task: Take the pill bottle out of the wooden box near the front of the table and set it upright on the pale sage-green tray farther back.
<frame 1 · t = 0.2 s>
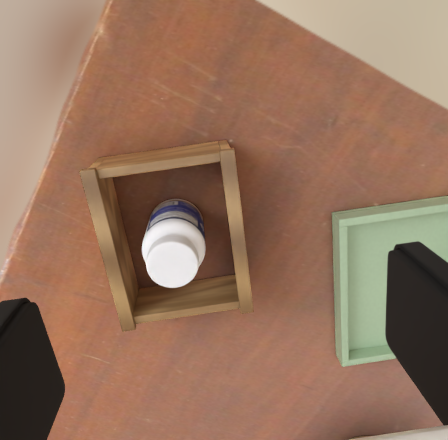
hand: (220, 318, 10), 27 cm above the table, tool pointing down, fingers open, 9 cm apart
pill bottle: (176, 222, 38), resting in wooden box
tray: (396, 279, 42), on the table
wooden box: (176, 223, 38), on the table
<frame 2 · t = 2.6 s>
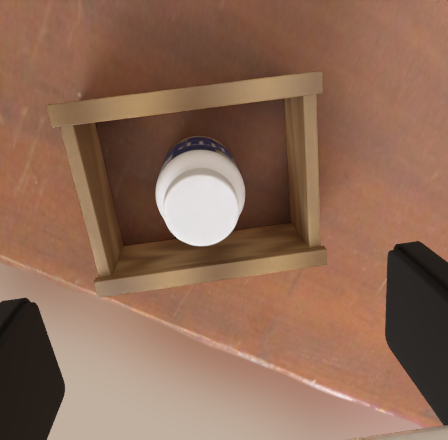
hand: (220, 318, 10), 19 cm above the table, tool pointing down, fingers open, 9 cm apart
pill bottle: (198, 170, 29), resting in wooden box
wooden box: (199, 171, 28), on the table
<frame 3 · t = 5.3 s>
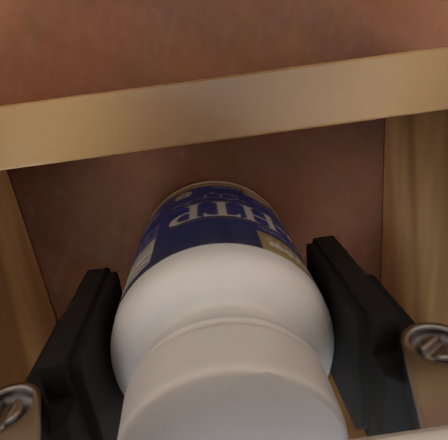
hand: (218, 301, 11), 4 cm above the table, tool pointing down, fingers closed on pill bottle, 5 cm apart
pill bottle: (212, 242, 15), resting in wooden box, touching gripper
wooden box: (212, 244, 15), on the table
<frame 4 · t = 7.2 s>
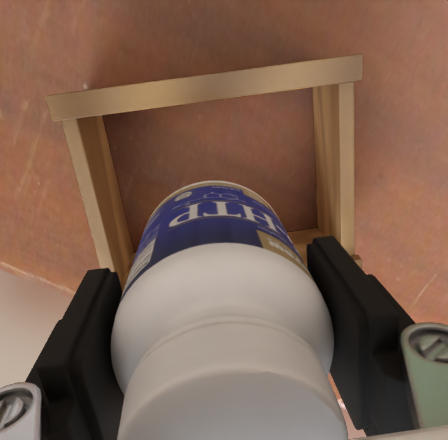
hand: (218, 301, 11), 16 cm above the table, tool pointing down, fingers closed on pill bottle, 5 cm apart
pill bottle: (212, 242, 15), point 11 cm above the table, touching gripper
wooden box: (216, 170, 26), on the table
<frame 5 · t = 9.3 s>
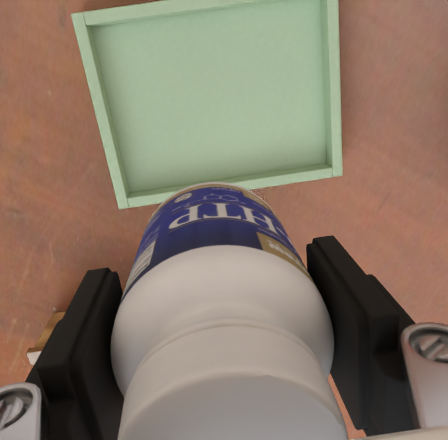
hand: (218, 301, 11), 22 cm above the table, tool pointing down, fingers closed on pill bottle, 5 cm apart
pill bottle: (212, 243, 15), point 18 cm above the table, touching gripper
tray: (217, 100, 30), on the table
wooden box: (146, 351, 38), on the table
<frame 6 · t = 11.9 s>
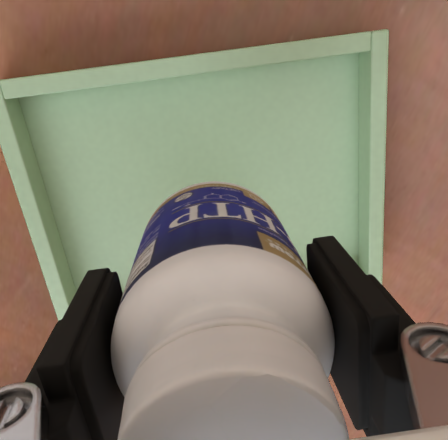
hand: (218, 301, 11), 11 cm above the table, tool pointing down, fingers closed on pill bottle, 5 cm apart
pill bottle: (212, 243, 15), point 7 cm above the table, touching gripper
tray: (207, 192, 21), on the table
when the fingers open (4 cm above the table, at t = 13.8 s): pill bottle stays where it is, resting on tray.
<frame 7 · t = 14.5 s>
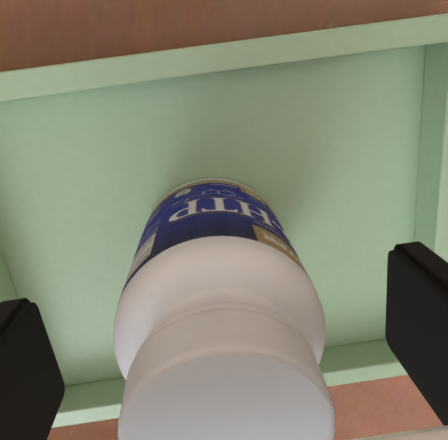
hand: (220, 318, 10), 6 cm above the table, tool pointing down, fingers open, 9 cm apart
pill bottle: (211, 238, 15), resting on tray
tray: (213, 232, 16), on the table
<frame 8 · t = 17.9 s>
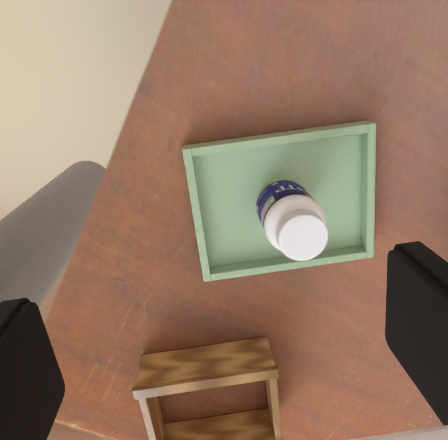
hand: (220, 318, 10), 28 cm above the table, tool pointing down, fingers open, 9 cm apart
pill bottle: (280, 202, 39), resting on tray
tray: (280, 200, 40), on the table
wooden box: (211, 384, 47), on the table
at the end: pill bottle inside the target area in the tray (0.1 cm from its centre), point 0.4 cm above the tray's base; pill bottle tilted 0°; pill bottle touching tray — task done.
